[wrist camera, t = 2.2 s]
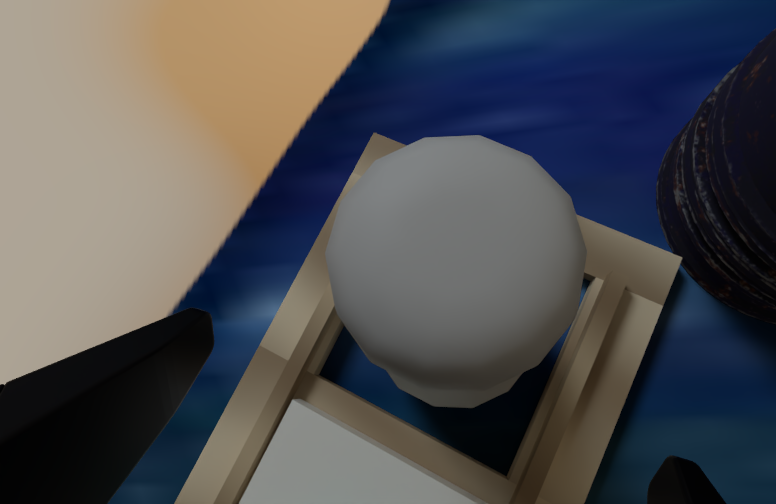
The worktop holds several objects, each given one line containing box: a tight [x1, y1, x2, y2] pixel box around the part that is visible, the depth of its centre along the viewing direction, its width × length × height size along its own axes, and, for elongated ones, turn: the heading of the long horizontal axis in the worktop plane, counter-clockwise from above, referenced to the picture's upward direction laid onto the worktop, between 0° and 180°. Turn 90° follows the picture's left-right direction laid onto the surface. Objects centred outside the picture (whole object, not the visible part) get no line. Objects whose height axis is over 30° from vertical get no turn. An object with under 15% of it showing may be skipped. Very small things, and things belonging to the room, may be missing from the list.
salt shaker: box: [325, 135, 587, 408], centre depth 14 cm, size 6×6×13 cm
